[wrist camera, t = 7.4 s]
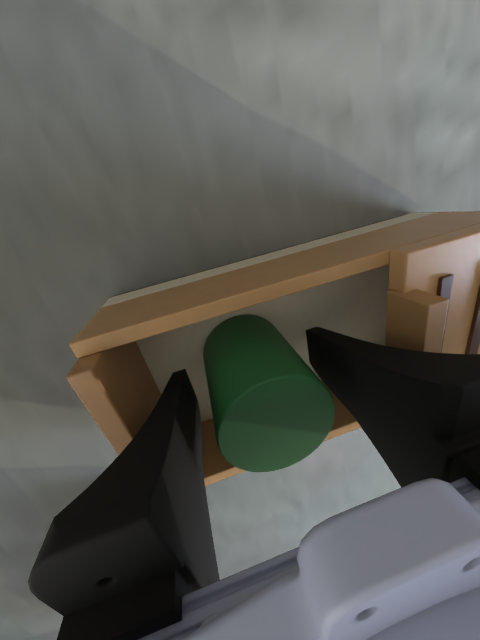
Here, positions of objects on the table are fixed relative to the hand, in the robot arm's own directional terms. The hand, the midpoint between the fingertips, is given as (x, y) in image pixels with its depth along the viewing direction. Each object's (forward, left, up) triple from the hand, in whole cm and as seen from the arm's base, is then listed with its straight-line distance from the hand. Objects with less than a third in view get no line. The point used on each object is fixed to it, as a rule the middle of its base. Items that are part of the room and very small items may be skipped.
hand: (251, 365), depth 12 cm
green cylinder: (0, 0, -2) cm, 2 cm away
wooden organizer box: (-3, 0, -3) cm, 4 cm away
